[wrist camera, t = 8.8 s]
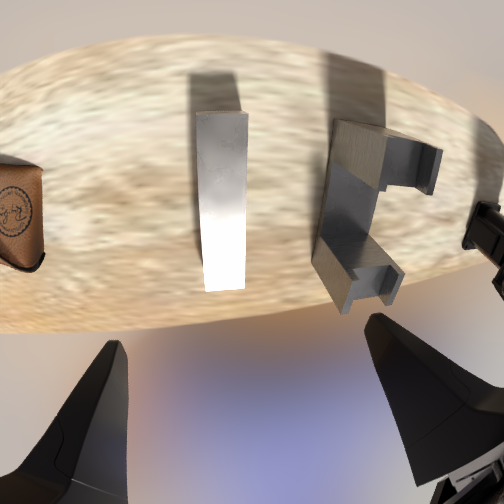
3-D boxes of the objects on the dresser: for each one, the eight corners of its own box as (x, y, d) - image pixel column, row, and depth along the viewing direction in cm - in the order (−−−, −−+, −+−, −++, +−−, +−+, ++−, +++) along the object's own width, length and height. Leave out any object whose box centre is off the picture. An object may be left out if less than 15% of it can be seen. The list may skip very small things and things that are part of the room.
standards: (386, 127, 17) (443, 150, 12) (356, 259, 24) (391, 304, 19) (334, 118, 17) (387, 136, 12) (311, 263, 23) (340, 314, 18)
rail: (240, 110, 16) (248, 113, 14) (238, 265, 22) (244, 287, 20) (196, 111, 15) (196, 114, 13) (204, 268, 22) (205, 291, 20)
